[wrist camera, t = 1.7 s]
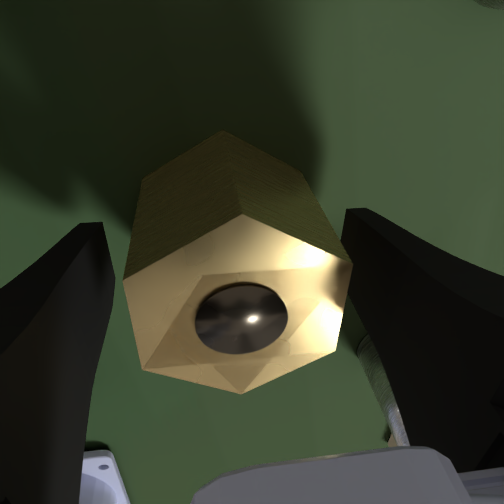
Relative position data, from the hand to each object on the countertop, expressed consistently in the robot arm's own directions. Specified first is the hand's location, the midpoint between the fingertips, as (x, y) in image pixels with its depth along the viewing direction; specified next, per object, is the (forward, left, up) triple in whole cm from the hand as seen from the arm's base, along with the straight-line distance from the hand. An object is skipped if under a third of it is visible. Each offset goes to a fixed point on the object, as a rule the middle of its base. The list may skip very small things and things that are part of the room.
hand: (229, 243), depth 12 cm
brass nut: (0, 0, -2) cm, 2 cm away
